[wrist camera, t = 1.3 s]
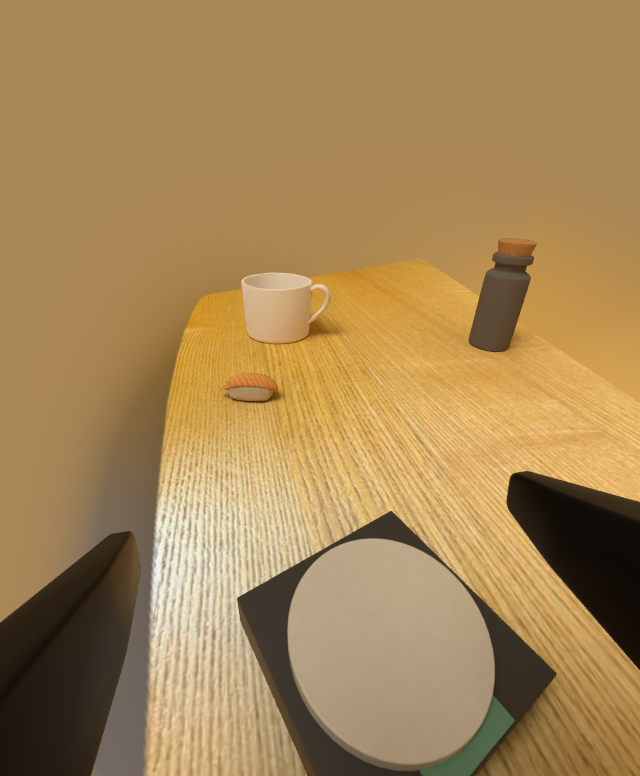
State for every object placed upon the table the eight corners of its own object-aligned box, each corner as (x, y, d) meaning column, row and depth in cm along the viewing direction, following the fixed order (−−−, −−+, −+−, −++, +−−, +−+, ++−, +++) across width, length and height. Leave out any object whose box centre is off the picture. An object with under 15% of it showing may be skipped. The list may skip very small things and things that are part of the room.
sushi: (277, 404, 39) (276, 380, 38) (218, 403, 39) (214, 378, 38) (279, 391, 42) (278, 368, 40) (223, 390, 41) (220, 367, 40)
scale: (541, 694, 18) (564, 665, 16) (366, 911, 12) (376, 897, 11) (387, 531, 25) (393, 501, 24) (240, 620, 20) (235, 588, 19)
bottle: (463, 336, 58) (487, 236, 51) (499, 337, 58) (529, 238, 51) (476, 351, 53) (505, 243, 46) (515, 352, 53) (551, 244, 46)
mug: (234, 341, 54) (229, 286, 50) (258, 318, 63) (255, 270, 59) (322, 350, 52) (324, 294, 48) (334, 325, 61) (336, 276, 57)
